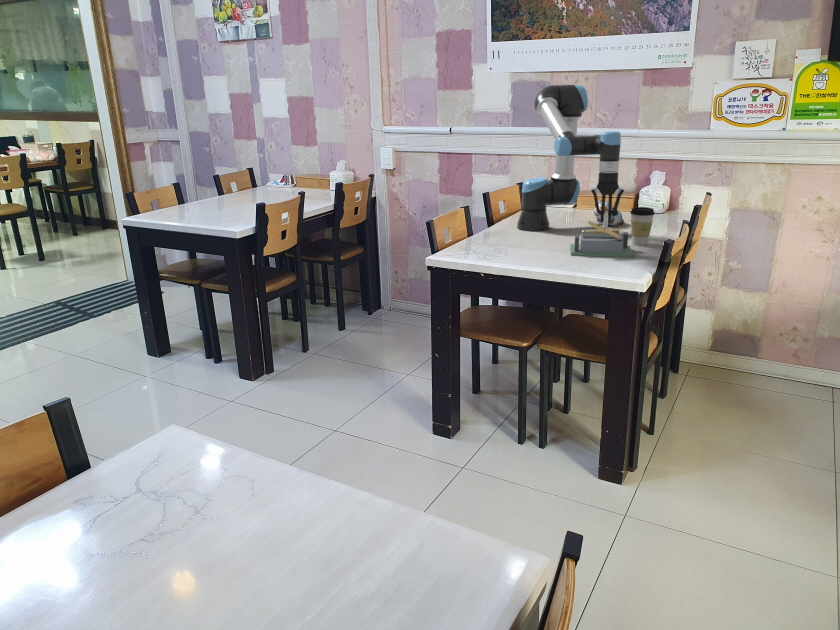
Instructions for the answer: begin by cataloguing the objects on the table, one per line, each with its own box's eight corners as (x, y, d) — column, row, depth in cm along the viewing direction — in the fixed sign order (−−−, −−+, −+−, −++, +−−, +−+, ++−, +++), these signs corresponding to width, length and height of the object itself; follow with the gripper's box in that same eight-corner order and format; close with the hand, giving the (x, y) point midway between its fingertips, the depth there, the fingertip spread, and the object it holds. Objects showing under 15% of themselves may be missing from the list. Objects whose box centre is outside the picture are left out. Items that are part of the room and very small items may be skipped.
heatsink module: (570, 255, 263) (571, 238, 261) (570, 246, 277) (571, 230, 274) (632, 257, 258) (634, 239, 256) (629, 248, 272) (630, 231, 270)
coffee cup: (653, 246, 274) (656, 211, 269) (628, 246, 276) (631, 210, 271) (650, 241, 283) (653, 207, 278) (626, 241, 285) (629, 206, 280)
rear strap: (581, 235, 269) (581, 231, 269) (581, 233, 273) (581, 229, 272) (619, 233, 266) (619, 229, 266) (618, 231, 270) (618, 227, 269)
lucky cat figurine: (627, 226, 313) (620, 202, 305) (603, 236, 316) (595, 212, 308) (618, 212, 325) (611, 188, 317) (595, 221, 328) (587, 198, 320)
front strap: (621, 239, 262) (623, 235, 261) (621, 241, 258) (623, 237, 258) (587, 223, 262) (589, 219, 262) (587, 225, 259) (589, 221, 258)
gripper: (591, 172, 259) (588, 231, 266) (626, 172, 256) (622, 232, 264) (591, 170, 266) (588, 228, 273) (625, 170, 263) (621, 228, 271)
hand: (604, 230), depth 269 cm, fingers closed
